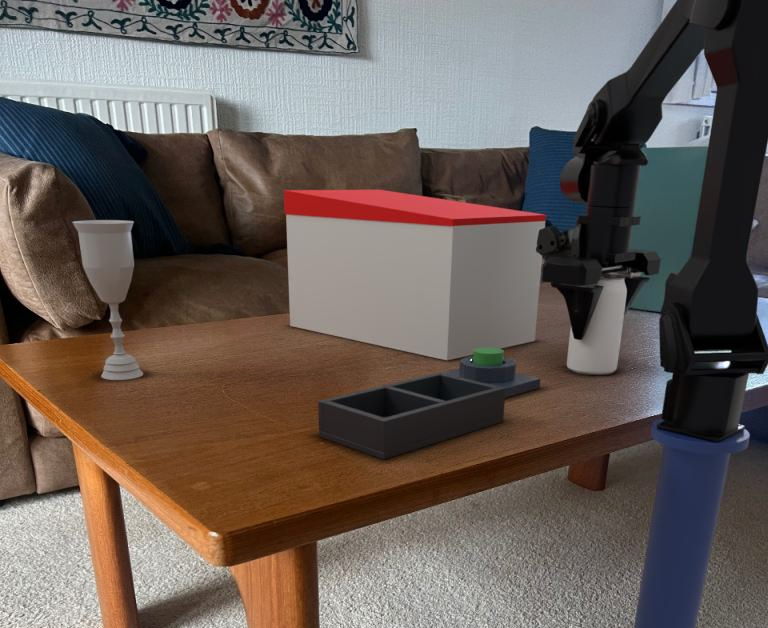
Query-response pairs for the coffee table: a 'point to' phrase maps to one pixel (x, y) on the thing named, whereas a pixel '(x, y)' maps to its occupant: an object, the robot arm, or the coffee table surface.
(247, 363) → the coffee table surface
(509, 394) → the grey button base
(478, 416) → the divided tray
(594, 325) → the can
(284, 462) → the coffee table surface
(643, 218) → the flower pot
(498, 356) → the button
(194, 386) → the coffee table surface
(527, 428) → the coffee table surface
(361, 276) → the red-topped white box
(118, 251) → the chalice
